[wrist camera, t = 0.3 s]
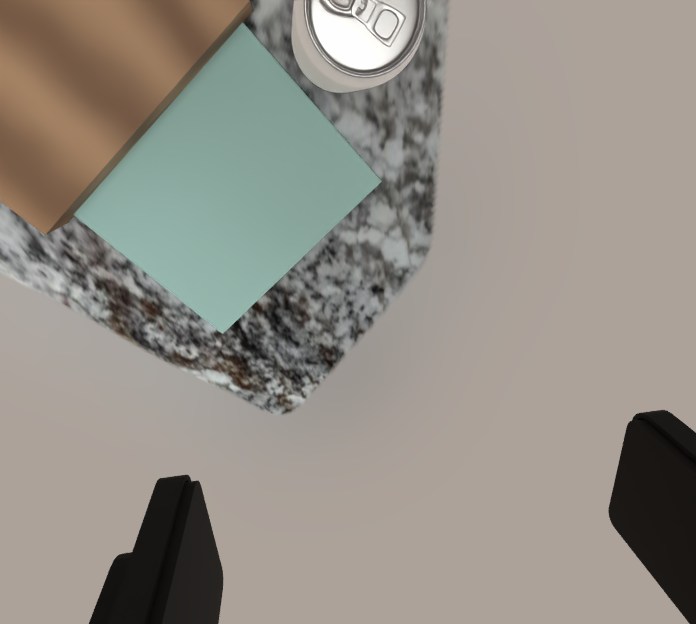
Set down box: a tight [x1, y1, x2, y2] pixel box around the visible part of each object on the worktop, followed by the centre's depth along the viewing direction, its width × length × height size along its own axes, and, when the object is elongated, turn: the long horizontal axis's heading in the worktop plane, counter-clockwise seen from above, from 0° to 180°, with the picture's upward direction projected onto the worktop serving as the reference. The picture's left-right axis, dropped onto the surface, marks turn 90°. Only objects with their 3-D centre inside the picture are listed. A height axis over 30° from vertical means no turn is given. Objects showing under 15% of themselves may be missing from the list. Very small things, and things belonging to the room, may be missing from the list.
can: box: [291, 0, 427, 93], centre depth 26 cm, size 6×6×12 cm
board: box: [0, 0, 253, 235], centre depth 29 cm, size 20×12×4 cm, turn 132°
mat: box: [74, 22, 382, 334], centre depth 35 cm, size 18×14×1 cm
